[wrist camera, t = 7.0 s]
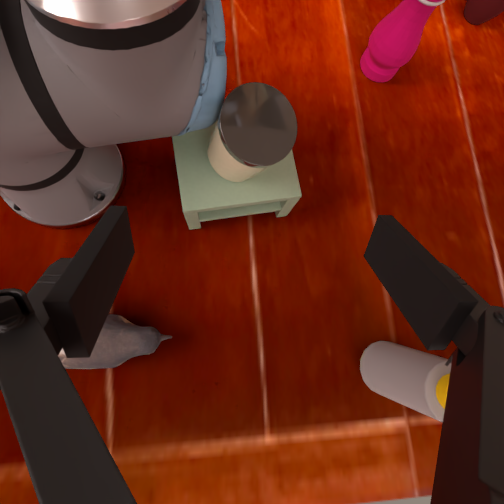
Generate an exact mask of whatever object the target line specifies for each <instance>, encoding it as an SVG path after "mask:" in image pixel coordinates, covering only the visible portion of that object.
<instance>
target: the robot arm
mask: <svg viewBox="0 0 504 504" xmlns="http://www.w3.org/2000/svg"><path fill="white" fill-rule="evenodd" d="M225 41H226V37H225V23H224V16H223V10H222V4H221V0H0V195H1V196H2V198H3V199H4V201H5V202H6V203H7V204H8V205H9V206H10V207H11V208H12V209H13V210H14V211H15V212H16V213H18V214H19V215H21V216H22V217H24V218H26V219H28V220H30V221H32V222H34V223H37V224H39V225H42V226H45V227H49V228H56V229H70V228H76V227H81V226H84V225H87V224H90V223H92V222H94V221H96V220H97V219H99V218H101V217H102V216H103V217H102V218H101V219H100V221H99V222H98V224H97V225H96V226H95V228H94V229H93V231H92V232H91V233H90V235H89V236H88V238H87V239H86V240H85V242H84V243H83V245H82V246H81V248H80V249H79V250H78V252H77V253H76V255H75V256H74V257H73V258H61V259H59V260H57V261H56V262H54V263H53V264H51V265H50V266H49V267H48V268H47V270H46V271H45V272H44V273H43V276H41V277H40V278H39V280H38V281H37V284H35V285H34V286H33V287H32V289H31V290H30V291H29V292H28V294H27V295H26V293H25V292H24V291H22V290H19V289H15V288H13V289H3V290H0V390H2V393H3V396H4V399H5V402H6V405H7V408H8V411H9V414H10V417H11V420H12V423H13V426H14V429H15V432H16V435H17V438H18V441H19V444H20V447H21V450H22V453H23V456H24V459H25V462H26V465H27V468H28V471H29V474H30V477H31V480H32V483H33V486H34V489H35V492H36V495H37V498H38V501H39V504H137V503H136V501H135V499H134V497H133V495H132V494H131V492H130V490H129V488H128V486H127V484H126V482H125V480H124V479H123V477H122V475H121V473H120V471H119V469H118V467H117V465H116V464H115V462H114V460H113V458H112V456H111V454H110V452H109V450H108V449H107V447H106V445H105V443H104V441H103V439H102V437H101V435H100V434H99V432H98V430H97V428H96V426H95V424H94V422H93V420H92V419H91V417H90V415H89V413H88V411H87V409H86V407H85V405H84V403H83V402H82V400H81V398H80V396H79V394H78V392H77V390H76V388H75V387H74V385H73V383H72V381H71V379H70V377H69V375H68V373H67V372H66V370H65V368H64V366H63V364H62V362H61V360H60V358H59V357H58V355H59V353H60V351H61V350H62V348H63V350H64V352H65V355H66V357H67V358H90V356H91V353H92V351H93V349H94V346H95V344H96V342H97V339H98V337H99V335H100V332H101V330H102V328H103V325H104V323H105V321H106V318H107V316H108V314H109V311H110V309H111V306H112V304H113V302H114V299H115V297H116V295H117V292H118V290H119V288H120V285H121V283H122V281H123V278H124V276H125V274H126V271H127V269H128V267H129V264H130V262H131V260H132V257H133V255H134V253H135V251H134V246H133V240H132V234H131V229H130V223H129V218H128V212H127V206H114V205H115V204H116V202H117V201H118V199H119V198H120V196H121V194H122V191H123V189H124V185H125V180H126V166H125V162H124V158H123V156H122V153H121V152H120V150H119V148H118V147H117V145H116V144H119V143H127V142H134V141H141V140H148V139H155V138H163V137H170V136H182V135H184V134H186V133H187V132H191V131H196V130H200V129H205V128H207V127H210V126H211V125H213V124H214V123H215V122H216V120H217V119H218V117H219V113H220V110H221V107H222V105H223V103H224V97H225V89H226V77H227V59H226V55H225V51H224V48H225ZM364 258H365V259H366V261H367V262H368V263H369V265H370V266H371V268H372V269H373V271H374V272H375V274H376V275H377V277H378V278H379V280H380V281H381V283H382V284H383V286H384V287H385V288H386V290H387V291H388V293H389V294H390V296H391V297H392V299H393V300H394V302H395V303H396V305H397V306H398V308H399V309H400V311H401V312H402V314H403V315H404V316H405V318H406V319H407V321H408V322H409V324H410V325H411V327H412V328H413V330H414V331H415V333H416V334H417V336H418V337H419V339H420V340H421V341H422V343H423V344H424V346H425V347H426V349H427V350H445V349H446V347H447V346H448V344H449V343H450V342H451V340H452V341H453V342H454V343H455V344H456V346H457V348H456V350H455V351H454V352H453V354H452V355H451V356H450V358H449V359H448V360H447V362H446V363H445V365H446V366H448V365H449V364H450V363H452V365H451V371H450V378H449V385H448V391H447V398H446V404H445V411H444V418H443V424H442V431H441V438H440V444H439V451H438V458H437V464H436V471H435V477H434V484H433V491H432V497H431V504H504V308H502V307H498V306H490V305H489V304H488V303H487V302H486V301H485V300H484V299H483V298H482V297H481V296H480V295H479V294H477V293H476V292H475V291H474V290H473V289H472V288H471V287H470V286H469V285H467V283H466V282H465V281H464V280H463V279H461V277H460V276H459V275H458V274H457V273H456V272H455V271H454V270H452V269H451V268H449V267H448V266H446V265H444V264H443V263H440V262H439V261H438V260H437V259H436V258H435V257H433V256H432V255H431V254H430V253H429V252H428V251H427V250H426V249H425V248H424V247H423V246H422V245H421V244H420V243H419V242H418V241H417V240H416V239H415V238H414V237H413V236H412V235H411V234H410V233H409V232H408V231H407V230H406V229H405V228H404V227H403V226H402V225H401V224H400V223H399V222H398V221H397V220H396V219H395V218H394V217H393V216H392V215H378V218H377V221H376V223H375V226H374V229H373V232H372V235H371V237H370V240H369V243H368V246H367V248H366V251H365V254H364Z"/></svg>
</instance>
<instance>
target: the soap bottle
mask: <svg viewBox="0 0 504 504" xmlns="http://www.w3.org/2000/svg"><path fill="white" fill-rule="evenodd" d="M447 360H448V359H445V358H442V357H439V356H436V355H432V354H429V353H426V352H422V351H419V350H416V349H412V348H409V347H406V346H402V345H399V344H396V343H393V342H388V341H378V342H375V343H372V344H371V345H370V346H369V347H368V348H366V349H365V350H364V352H363V354H362V357H361V359H360V372H361V375H362V378H363V381H364V382H365V383H366V385H367V386H368V387H369V388H370V389H371V390H373V391H374V392H376V393H378V394H380V395H382V396H384V397H387V398H389V399H391V400H393V401H396V402H398V403H400V404H402V405H405V406H407V407H409V408H411V409H414V410H416V411H418V412H420V413H423V414H425V415H427V416H429V417H432V418H434V419H436V420H438V421H441V422H443V418H444V411H445V404H446V398H447V391H448V385H449V378H450V371H451V365H452V363H450V364H449V365H448V366H446V365H445V363H446V362H447Z"/></svg>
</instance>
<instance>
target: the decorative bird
mask: <svg viewBox="0 0 504 504" xmlns="http://www.w3.org/2000/svg"><path fill="white" fill-rule="evenodd" d="M169 338H172V336H170V335H163V334H160V333H159V331H158V330H157V329H156V328H154V327H141V326H137V325H134V324H132V323H131V322H129V321H128V320H127V319H125V318H123V317H122V316H120V315H112V314H108V316H107V318H106V321H105V323H104V325H103V328H102V330H101V332H100V335H99V337H98V339H97V342H96V344H95V346H94V349H93V351H92V353H91V356H90V358H67V357H66V355H65V352H64V350H63V348H62V350H61V351H60V353H59V355H58V357H59V358H60V360H61V362H62V364H63V366H64V368H68V369H97V368H114V367H117V366H119V365H120V364H122V363H123V362H125V361H127V360H128V359H130V358H132V357H136V356H139V355H148V354H151V353H153V352H154V351H155V350H156V349H157V347H158V346H159V344H160V342H161V341H163V340H165V339H169Z"/></svg>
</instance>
